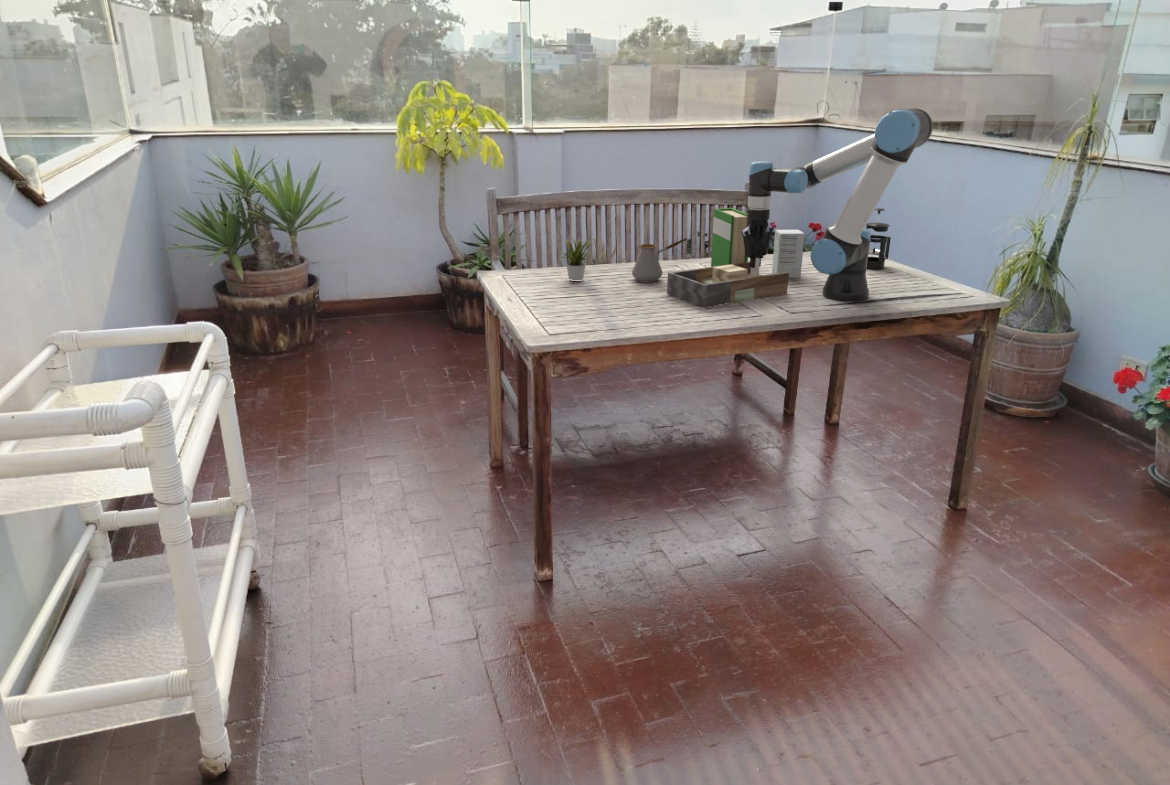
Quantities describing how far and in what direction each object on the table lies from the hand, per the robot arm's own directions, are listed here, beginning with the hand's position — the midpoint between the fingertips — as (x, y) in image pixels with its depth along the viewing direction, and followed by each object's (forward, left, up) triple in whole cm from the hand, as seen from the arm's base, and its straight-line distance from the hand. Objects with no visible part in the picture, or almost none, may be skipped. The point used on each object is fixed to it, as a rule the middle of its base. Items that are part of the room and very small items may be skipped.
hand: (754, 276), depth 281 cm
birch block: (+1, +11, -1) cm, 11 cm away
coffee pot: (+31, +19, -5) cm, 37 cm away
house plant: (+44, +46, -5) cm, 64 cm away
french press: (+6, -66, -5) cm, 66 cm away
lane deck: (+1, +11, -5) cm, 12 cm away
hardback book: (+23, -7, -5) cm, 24 cm away
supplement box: (+12, -26, -5) cm, 29 cm away
